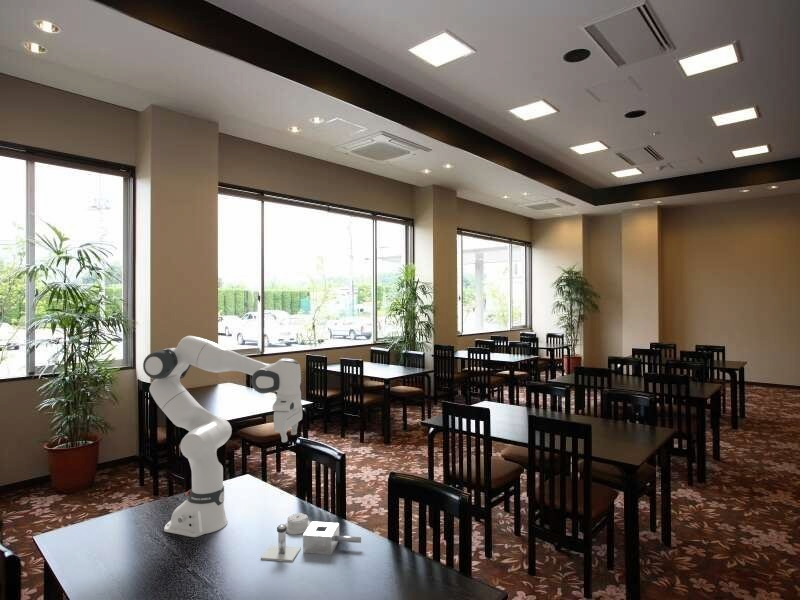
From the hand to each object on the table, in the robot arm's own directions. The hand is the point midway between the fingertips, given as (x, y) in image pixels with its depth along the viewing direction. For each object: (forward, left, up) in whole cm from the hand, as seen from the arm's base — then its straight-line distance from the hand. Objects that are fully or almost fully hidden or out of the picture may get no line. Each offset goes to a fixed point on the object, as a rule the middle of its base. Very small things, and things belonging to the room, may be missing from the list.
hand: (289, 438), depth 178 cm
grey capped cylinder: (+4, -18, -34) cm, 38 cm away
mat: (+4, -18, -34) cm, 39 cm away
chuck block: (+21, -11, -34) cm, 41 cm away
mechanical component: (+3, +1, -35) cm, 35 cm away
